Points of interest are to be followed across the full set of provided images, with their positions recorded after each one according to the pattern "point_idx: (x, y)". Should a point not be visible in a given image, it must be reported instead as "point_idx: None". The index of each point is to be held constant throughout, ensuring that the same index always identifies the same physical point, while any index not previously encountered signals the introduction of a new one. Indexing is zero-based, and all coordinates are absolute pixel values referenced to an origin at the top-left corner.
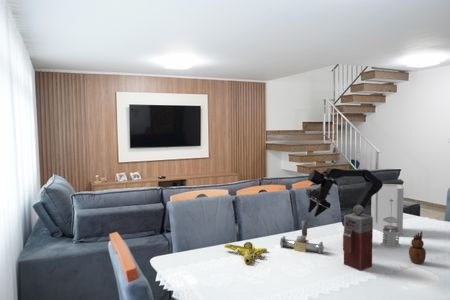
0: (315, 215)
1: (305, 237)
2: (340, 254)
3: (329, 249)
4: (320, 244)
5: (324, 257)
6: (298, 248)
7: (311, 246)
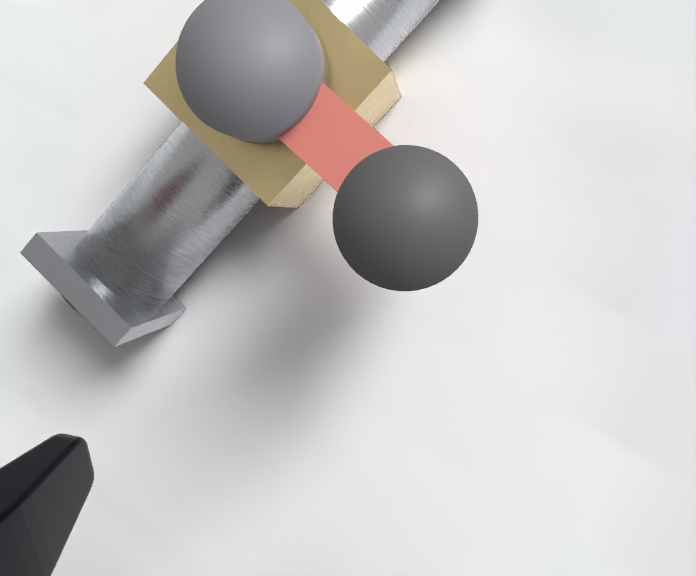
0: (27, 470)
1: (208, 122)
2: None
3: (201, 432)
4: (31, 259)
5: (3, 236)
6: None
7: (140, 172)
